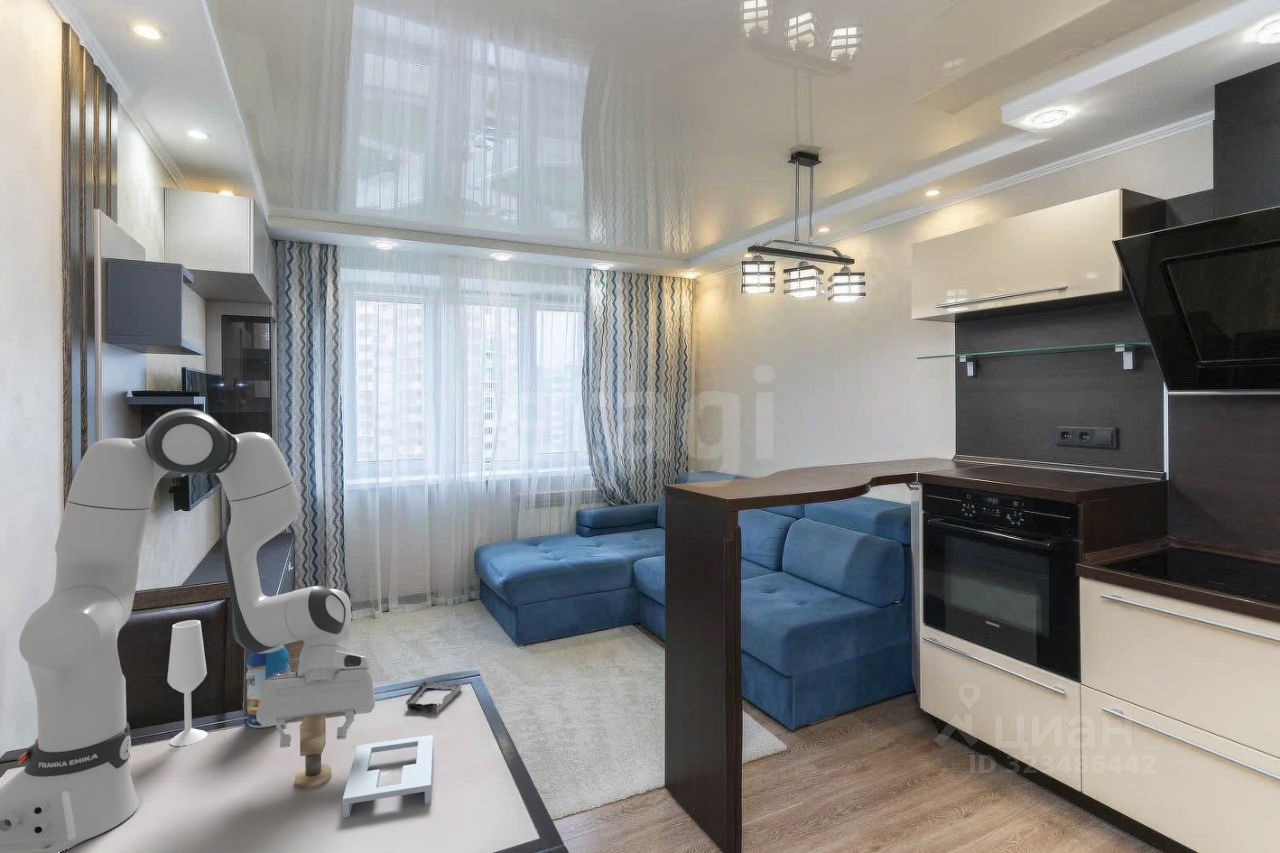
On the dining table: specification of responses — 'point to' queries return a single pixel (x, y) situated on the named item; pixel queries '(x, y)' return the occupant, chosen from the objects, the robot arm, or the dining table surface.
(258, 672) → the beverage bottle
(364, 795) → the keyhole plate
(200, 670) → the champagne flute
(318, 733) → the beech peg
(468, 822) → the dining table surface
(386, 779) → the dining table surface
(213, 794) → the dining table surface
